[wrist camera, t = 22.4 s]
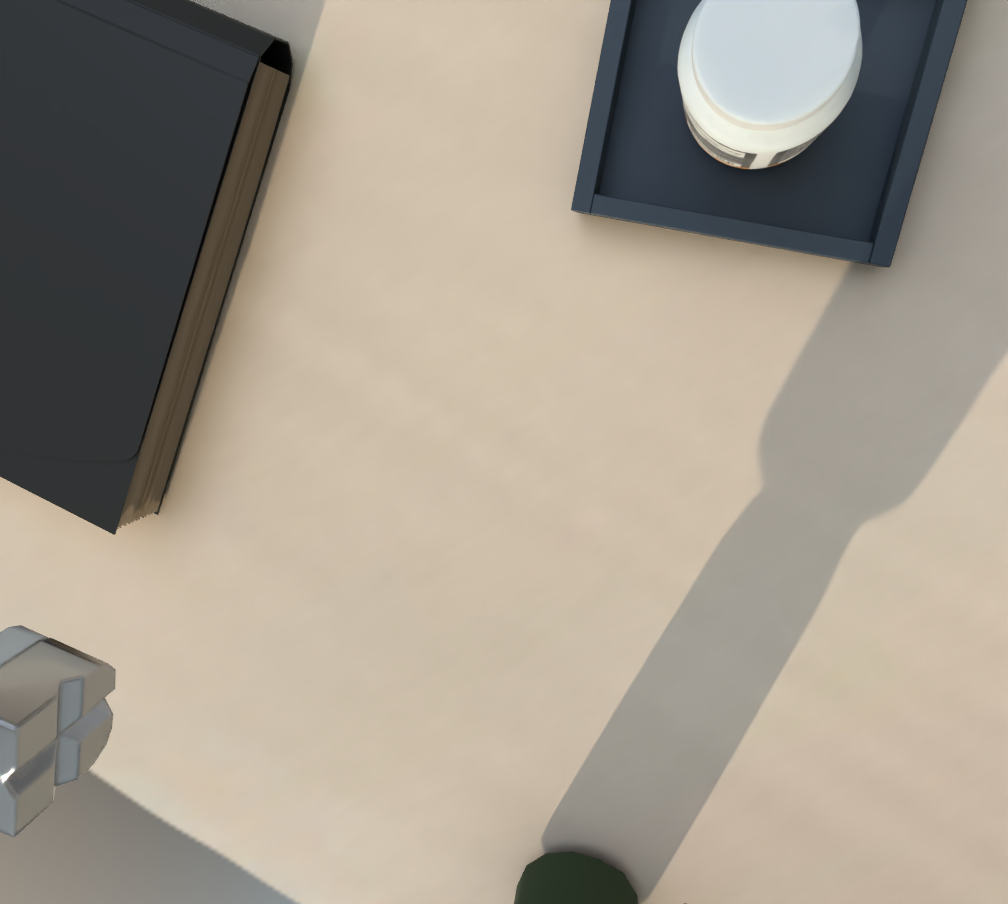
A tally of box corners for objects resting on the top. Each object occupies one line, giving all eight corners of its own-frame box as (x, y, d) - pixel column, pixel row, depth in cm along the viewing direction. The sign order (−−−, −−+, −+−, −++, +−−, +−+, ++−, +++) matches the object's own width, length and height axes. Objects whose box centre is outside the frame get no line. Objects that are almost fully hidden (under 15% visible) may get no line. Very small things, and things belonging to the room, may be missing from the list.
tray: (966, -34, 32) (982, -52, 30) (880, 266, 35) (890, 267, 33) (632, -74, 34) (628, -93, 32) (577, 212, 37) (570, 210, 35)
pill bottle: (821, -1, 33) (869, -103, 23) (841, 153, 34) (895, 115, 24) (671, 40, 34) (659, -40, 25) (695, 187, 35) (692, 163, 26)
